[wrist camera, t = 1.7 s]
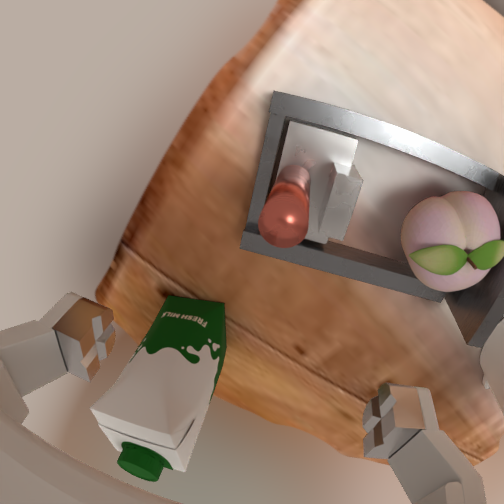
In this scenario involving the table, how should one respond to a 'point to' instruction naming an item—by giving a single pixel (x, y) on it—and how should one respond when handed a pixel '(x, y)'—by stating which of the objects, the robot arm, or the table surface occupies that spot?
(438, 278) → the decorative fruit
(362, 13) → the table surface
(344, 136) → the handle
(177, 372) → the milk carton
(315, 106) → the press base
